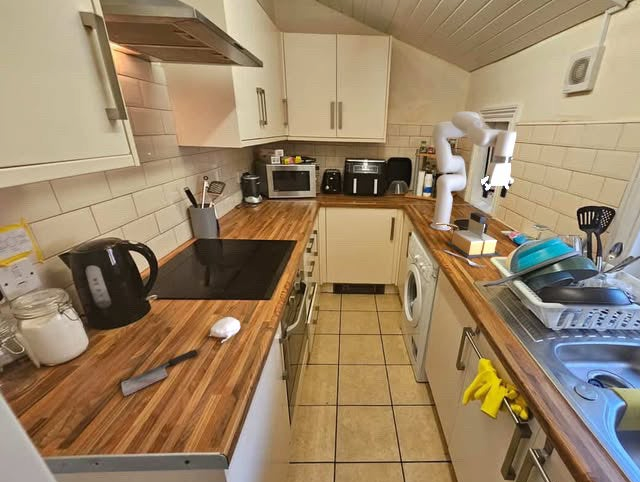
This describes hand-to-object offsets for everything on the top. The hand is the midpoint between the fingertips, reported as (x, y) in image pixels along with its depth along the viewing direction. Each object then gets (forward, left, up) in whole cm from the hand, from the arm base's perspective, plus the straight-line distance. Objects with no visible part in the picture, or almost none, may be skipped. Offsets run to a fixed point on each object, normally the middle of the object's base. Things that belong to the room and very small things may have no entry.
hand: (493, 197), depth 142 cm
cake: (-1, -6, -27) cm, 27 cm away
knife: (-1, -6, -19) cm, 19 cm away
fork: (+10, -18, -27) cm, 34 cm away
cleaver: (+57, -128, -27) cm, 143 cm away
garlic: (+44, -116, -27) cm, 127 cm away
